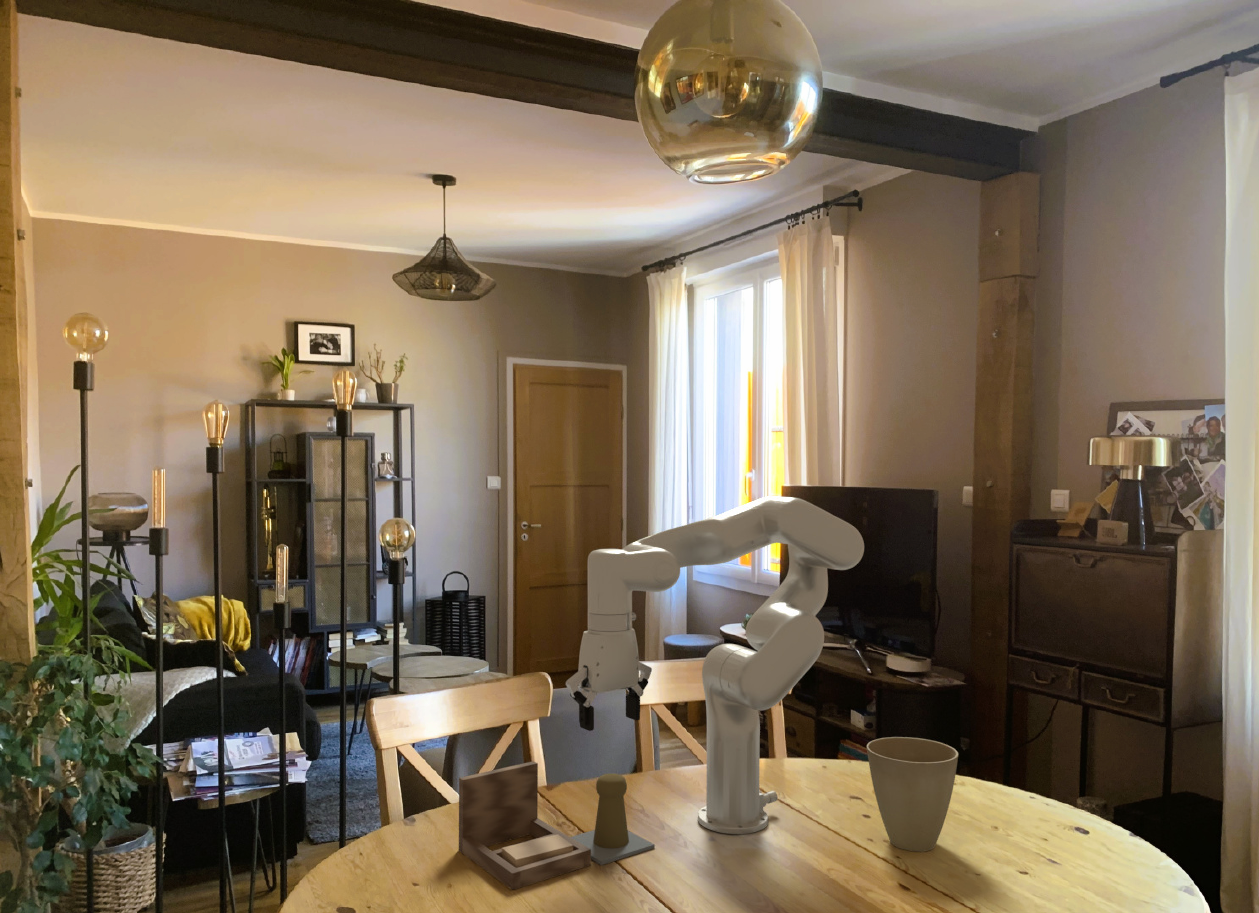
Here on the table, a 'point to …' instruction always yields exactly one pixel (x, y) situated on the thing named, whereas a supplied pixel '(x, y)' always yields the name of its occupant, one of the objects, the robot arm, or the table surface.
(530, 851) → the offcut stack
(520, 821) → the open walnut box
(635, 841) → the slate mat
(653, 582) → the robot arm
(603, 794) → the olive pawn
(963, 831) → the table surface
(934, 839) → the plant pot
